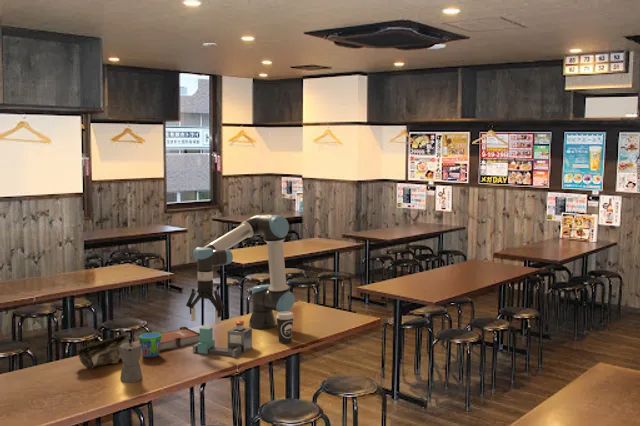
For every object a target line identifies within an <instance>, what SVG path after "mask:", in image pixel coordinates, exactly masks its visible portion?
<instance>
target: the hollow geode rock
mask: <svg viewBox="0 0 640 426" xmlns="http://www.w3.org/2000/svg"><path fill="white" fill-rule="evenodd" d="M128 336H129V334H123V335H118V336H115V337H111V338H106V339H102V340H98V341H96V342H94V343H92V344H88V345H85V346H82V347H81V348H79V349H77V351H76V356H78V358H79V361H80V363H81V364H82V365H83V366H84V367H86V368H87V369H89V370H92V369H93V368H94V367H97V366H101V365H104V366H106V365H108V364H117V363H119V361H120V360H122V359H121V354H120V348H119V346H120V345H122V344H124V343H129V340H128V339H127V337H128Z"/></svg>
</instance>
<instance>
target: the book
mask: <svg viewBox="0 0 640 426" xmlns="http://www.w3.org/2000/svg"><path fill="white" fill-rule="evenodd" d="M159 333H160V332H159ZM160 334H161V335H162V338H161V340H160V349H159V352H161V351H164V350H165V351H166V350H170V349H174V348H180V347H183V346H187V345H192V344H197V343H199V342H200V332H198V331H195V330H192V329H190V328H188V327H187V326H180V327H179V329H175V330H169V331H165V332H161V333H160ZM139 343H140V342H139ZM140 344H141V343H140Z"/></svg>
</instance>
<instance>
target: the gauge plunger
mask: <svg viewBox="0 0 640 426" xmlns="http://www.w3.org/2000/svg"><path fill="white" fill-rule="evenodd" d="M244 323H245V321H244V320H237V321H235V327H236V331H243V327H244Z"/></svg>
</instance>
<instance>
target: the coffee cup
mask: <svg viewBox="0 0 640 426" xmlns="http://www.w3.org/2000/svg"><path fill="white" fill-rule="evenodd" d="M275 319H276V325H277V336H278V343H281V344H289V343H291V342H292V338H293V335H292V334H293V325H294V324H293V323H294V319H295V316H294V313H293V312H292V311H288V312H287V311H283V312H278V311H277V313H276V316H275Z"/></svg>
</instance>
